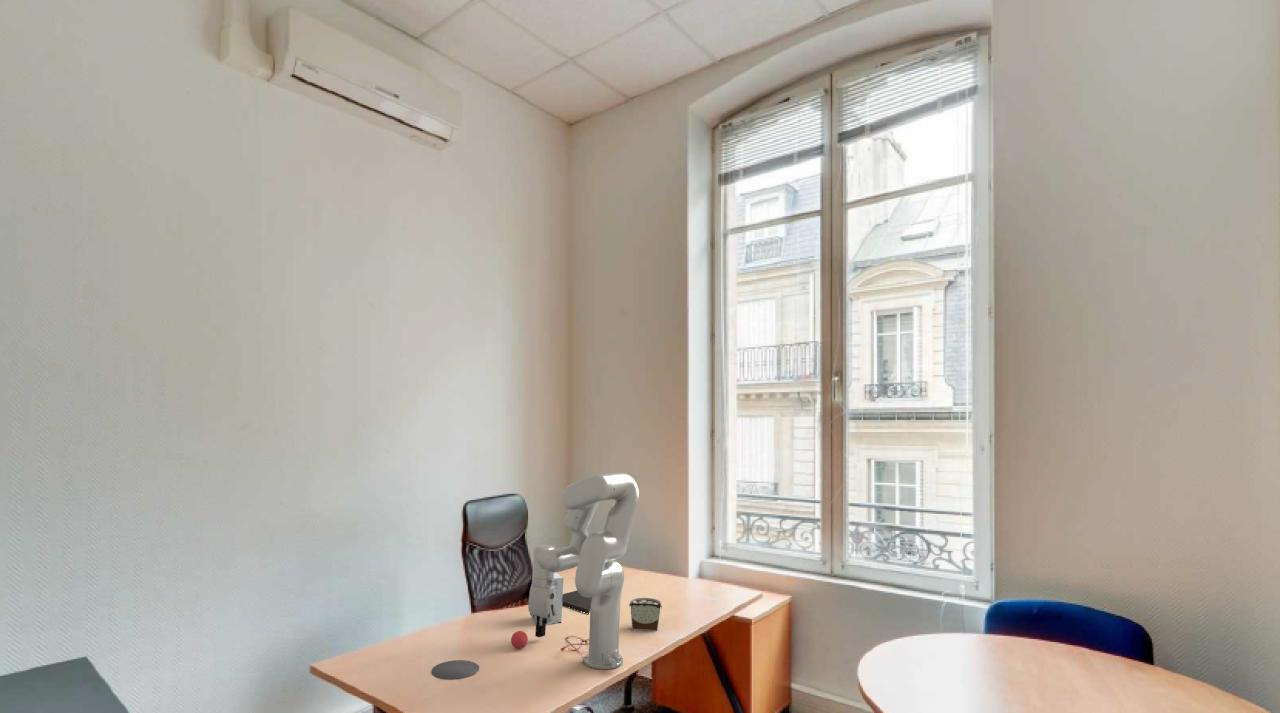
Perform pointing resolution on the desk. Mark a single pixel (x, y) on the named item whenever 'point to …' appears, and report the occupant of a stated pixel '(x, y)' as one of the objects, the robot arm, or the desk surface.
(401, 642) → the desk surface
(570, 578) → the desk surface
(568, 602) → the hardcover book
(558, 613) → the supplement box
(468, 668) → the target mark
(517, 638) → the ball
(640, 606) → the food container
